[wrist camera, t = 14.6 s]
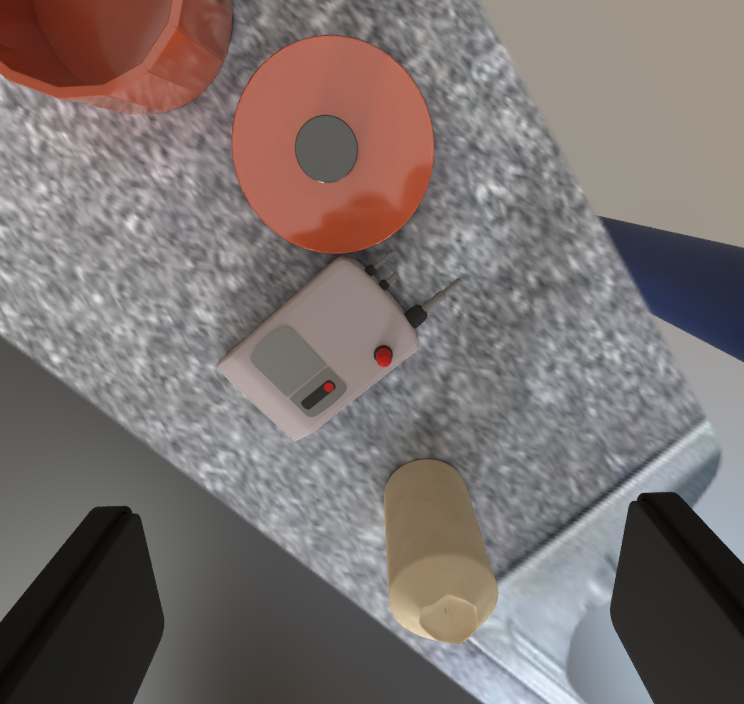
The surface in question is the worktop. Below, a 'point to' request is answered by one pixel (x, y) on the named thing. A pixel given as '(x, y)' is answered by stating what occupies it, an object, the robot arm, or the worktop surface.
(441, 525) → the candle
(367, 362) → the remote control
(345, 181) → the lid
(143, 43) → the pot
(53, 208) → the worktop surface
